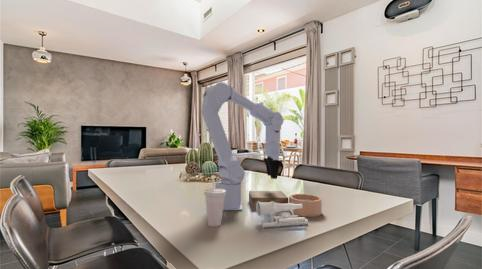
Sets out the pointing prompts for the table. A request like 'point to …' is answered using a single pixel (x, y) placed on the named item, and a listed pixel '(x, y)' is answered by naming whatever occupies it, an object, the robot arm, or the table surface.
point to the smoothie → (214, 204)
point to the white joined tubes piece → (274, 208)
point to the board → (266, 197)
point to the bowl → (307, 205)
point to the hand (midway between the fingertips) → (272, 176)
